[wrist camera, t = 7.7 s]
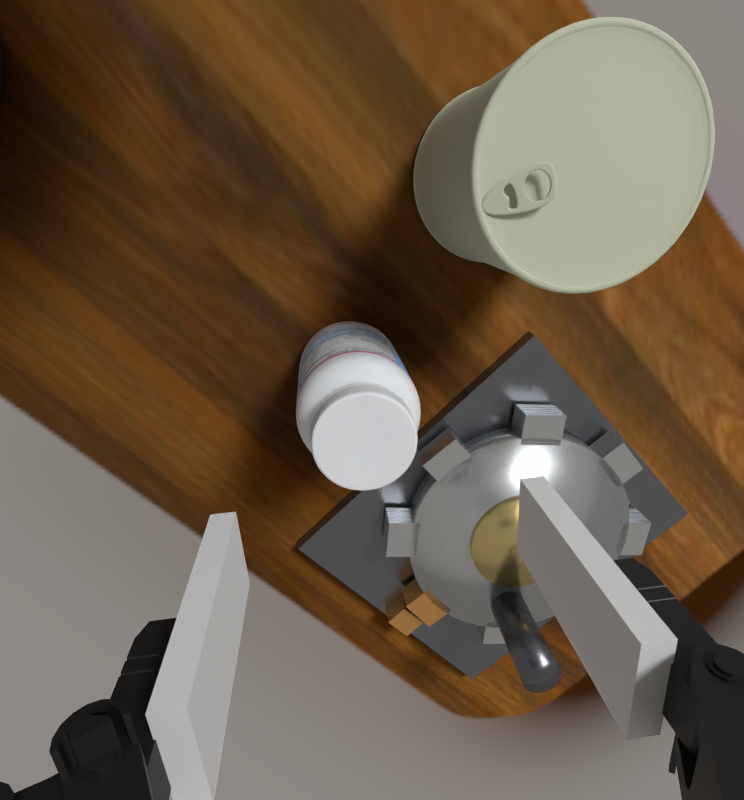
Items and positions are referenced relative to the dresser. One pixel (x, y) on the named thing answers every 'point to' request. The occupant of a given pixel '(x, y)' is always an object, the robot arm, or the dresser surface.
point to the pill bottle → (356, 406)
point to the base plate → (467, 418)
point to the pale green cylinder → (572, 158)
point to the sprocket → (506, 527)
